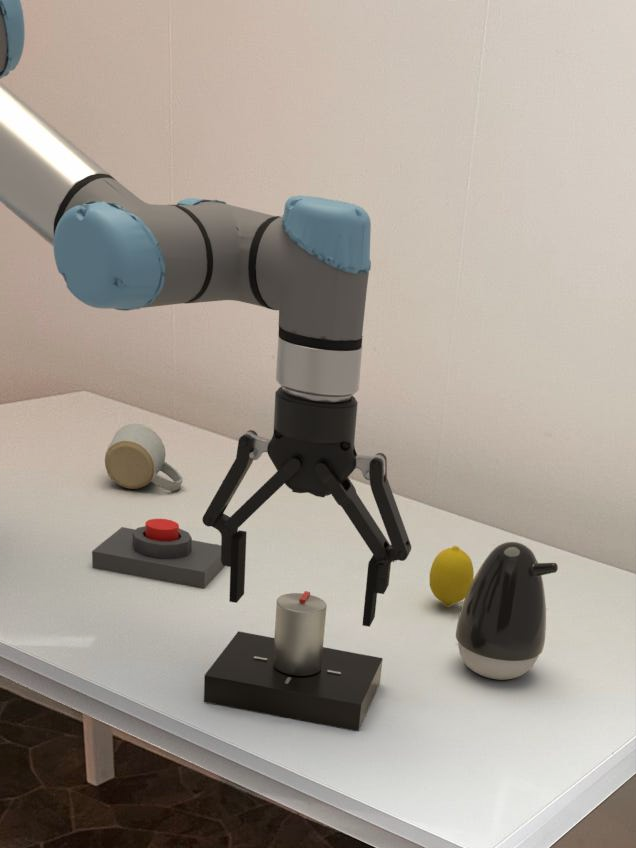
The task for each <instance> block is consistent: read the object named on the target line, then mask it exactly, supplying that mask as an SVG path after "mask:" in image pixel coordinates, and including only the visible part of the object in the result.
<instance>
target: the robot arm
mask: <svg viewBox="0 0 636 848" xmlns="http://www.w3.org/2000/svg"><path fill="white" fill-rule="evenodd" d="M24 17H25V16H24V11H23V6H22V2H21V0H0V80H1V79H3V78H4V77H7V76H8V75H10V72H11V71H14V70H15V69H17V66H18V65H19V63H20V61H21V58H22V55H23V53H24V52H23V51H24V46H25V37H26V33H25V32H26V31H25V18H24ZM0 203H1V204H2V205H4V206H5V207H6V208H7V209H8V210H9V211H11V212H12V213H13V214H14V215H15V216H17V217H18V218H19V219H20V220H21V221H23V222H24V223H25V224H26V225H27V226H29V228H30V229H31V230H33V231H34V232H35V233H36V234H37V235H39V236H40V237H41V238H42V239H43V240H45V242H47V243H48V244H49V245H50V246H51V247H53V256H54V261H55V265H56V268H57V271H58V273H59V274H60V275H61V276H62V277H63V279H64V282H65V283H66V288H67V289H68V290H69V293H71V294H72V295H73V296H74V297H75V298H76V299H77V300H78V301H79V302H80V303H83V304H85V305H86V306H88V307H91V308H96V309H104V310H105V309H106V310H107V309H108V310H109V309H110V310H111V309H114V310H117V311H134V310H140V309H144V308H145V309H146V308H153V307H162V306H171V305H172V306H173V305H181V304H197V303H208V302H219V301H221V302H222V301H234V302H235V301H236V302H239V303H240V302H241V303H245V304H249V305H253V306H254V305H255V306H258V307H262V308H265V309H269V310H272V311H278V333H277V334H278V335H277V336H278V339H277V352H276V353H277V355H276V368H275V369H276V372H275V381H276V382H277V383H278V384H279V386H280V387H278V388H277V390H276V391H275V393H274V414H273V434H272V437H271V439H269V438H267V437H263V436H260V435H258V433H257V431H255V430H253V429H249V430H247V431H246V432H244V433H243V434H242V435H241V436H240V437H239V438H238V443H237V450H236V455H235V459H234V461H233V463H232V465H231V466H230V468H229V470H228V471H227V473H226V474H225V477H224V479H223V480H222V483H221V484H220V485H219V488H218V489H217V491H216V493H215V495H214V496H213V498H212V500H211V502H210V503H209V505H208V507H207V508H206V511H205V513H204V514H203V516H202V519H201V520H202V523H203V525H205V526H206V527H212V528H214V529H216V530H217V531H218V532H219V533H220V536H221V541H220V542H221V543H220V544H221V562H222V565H223V566H224V567H229V569H230V570H229V597H228V598H229V602H230V603H236V604H237V603H238V602H239V601H240V599H241V598H242V597H243V596H244V594H245V585H246V583H245V582H246V557H247V555H246V554H247V531H245V530H239V528H240V527H241V526H242V525H243V524H244V523H245V522H246V521H247V520H248V519H249V518H250V517H252V515H254V513H255V512H257V510H259V509H260V507H262V506H263V505H264V504H265V503H266V502H267V501H268V500H269V499H270V498H271V497H272V496H273V495H274V494H276V492H277V491H278V490H280V489H281V488H282V487H283V486H284V485H285V486H286V487H287V488H288V489H290V490H291V492H292V493H296V494H306V493H308V494H311V495H313V496H315V497H318V498H325V497H328V496H332V498H333V499H334V501H335V502H336V504H337V505H338V506H340V507H341V508H342V509H343V511H344V513H345V514H346V516H347V517H348V518H349V520H350V522H351V523H352V525H353V526H354V528H355V529H356V531H357V532H358V534H359V535H360V537H361V539H362V540H363V541H364V543H365V545H366V546H367V548H368V549H369V550H370V552H371V554H372V556H371V558H370V560H369V561H368V564H367V573H366V583H365V594H364V606H363V613H362V615H363V616H362V626H364V627H371V625H372V623H373V621H374V620H375V617H376V608H377V600H378V599H377V598H378V594H381V595H384V594H385V593H386V591H387V590H388V587H389V585H390V577H391V566H392V562H396V561H401V562H403V561H405V560H407V559H408V556H409V555H410V553H411V551H412V544H411V541H410V538H409V536H408V533H407V530H406V527H405V524H404V522H403V519H402V516H401V513H400V510H399V507H398V504H397V502H396V499H395V496H394V494H393V490H392V487H391V485H390V482H389V479H388V460H387V456H386V455H385V454H384V453H382V452H378V453H375V454H374V455H366V454H365V455H363V454H358V453H357V451H356V447H355V439H356V427H357V426H356V425H357V415H358V403H359V402H358V401H357V400H356V397H355V396H354V395H355V394H356V393H358V392H359V390H360V381H361V380H360V379H361V367H362V354H363V353H362V352H363V337H364V336H363V331H364V322H365V310H366V301H367V292H368V290H367V289H368V283H369V275H370V271H371V269H372V268H371V267H372V261H371V231H372V230H371V229H372V226H371V225H372V223H371V218H370V215H369V213H368V212H367V210H365V209H364V208H363V207H361V206H360V205H357V204H355V203H351V202H347V201H342V200H337V199H335V200H333V199H329V198H324V197H318V196H309V195H292V196H290V197H288V198H287V200H286V202H285V203H284V209H283V214H282V216H279V215H272V214H269V213H264V212H261V211H257V210H252V209H248V208H244V207H240V206H236V205H232V204H228V203H227V202H225V201H223V200H218V199H205V198H195V197H187V198H184V199H181V200H180V201H178V202H177V204H154V203H153V204H152V203H151V204H150V203H147V202H145V201H143V200H142V199H140V198H139V197H138V196H137V195H135V194H134V193H133V192H131V191H130V189H128V188H127V187H125V186H124V185H123V184H122V183H120V182H119V181H118V180H117V179H115V178H114V177H113V176H112V175H111V174H110V173H109V172H107V171H106V169H104V168H103V167H102V166H100V165H99V164H98V163H97V162H96V161H95V160H93V159H92V158H91V156H89V155H88V154H87V153H85V151H83V150H82V149H81V148H80V147H78V146H77V145H76V144H75V143H73V141H71V140H70V139H69V138H68V137H66V136H65V135H64V134H63V133H61V131H59V129H57V128H56V127H55V126H53V125H52V124H51V123H50V122H49V121H48V120H47V119H45V118H44V117H43V116H42V115H41V114H39V113H38V112H37V111H36V110H35V109H33V108H32V106H31V105H29V104H28V103H27V102H26V101H24V100H23V99H22V98H20V96H18V95H17V94H16V93H15V92H13V91H12V90H11V89H10V88H9V87H8V86H6V85H5V84H4V82H2V81H0ZM264 453H267V456H268V457H269V459H270V461H271V462H272V464H273V466H274V467H275V470H276V472H275V473H274V474H273V475H272V476H271V477H269V479H268V480H267V481H266V482H264V484H263V485H262V486H260V487H259V489H258V490H256V492H255V493H253V494H252V495H251V496H250V497H249V498H248V499H247V500H246V501H245V502H244V503H243V504H242V505H241V506H240V507H239V508H238V509H237V510H236V511H235V512H234V513H233V514H232V515H231V516H229V515H227V514H225V511H226V510H227V508H228V506H229V505H230V503H231V501H232V499H233V497H234V496H235V494H236V492H237V491H238V488H239V487H240V485H241V483H242V481H243V480H244V478H245V476H246V475H247V472H248V471H249V469H250V468H251V466H252V465H253V462H254V461H258V460H259V459H260V458H261V457H262V456H263V454H264ZM355 469H358V470H359V471H361V473H362V476H363V479H365V480H366V481H369V485H370V489H371V493H372V496H373V498H374V500H375V501H374V502H375V504H376V507H377V509H378V512H379V514H380V518H381V520H382V523H383V526H384V530H385V532H386V535H387V537H388V539H389V541H388V539H387V538H386V536H385V535H384V533H383V532H382V529H381V528H380V527H379V525H378V524H377V522H376V521H375V520H374V518H373V516H372V515H371V513H370V512H369V510H368V509H367V506H366V505H365V504H364V502H363V501H362V499H361V498H360V496H359V494H358V493H357V490H356V488H355V485H354V484H353V482H352V481H351V479H350V478H349V477H350V476H351V474H353V472H354V471H355Z"/></svg>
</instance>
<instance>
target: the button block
mask: <svg viewBox="0 0 636 848" xmlns="http://www.w3.org/2000/svg"><path fill="white" fill-rule="evenodd" d="M91 562H92V563H91V564H92V565H91V566H92V569H95V570H102V571H106V572H107V571H108V572H112V573H116V574H117V573H118V574H123V575H129V576H133V577H139V578H144V579H150V580H155V581H161V582H167V583H171V584H175V585H182V586H187V587H193V588H198V589H206V588H207V586H209V584H210V583H211V582H212V581H213V580H214V579H215V577H216V576H218V574H220V572H221V571H222V570H223V569H224V568H225V566H223V565H222V562H221V545H220V544H215V543H210V542H204V541H200V540H194V539H192V535H191V534H190V532H188V531H187V530H184V529H182V528H180V527H179V539H178V540H174V541H156V540H151V539H149V538H146V537H145V525H144V526H140V527H139V526H138V527H137V528H134V529H133V528H129V527H123V526H122V527H120V528H119V529H118V530H117V531H115V532H114V533H112V535H110V536H109V537H108V538H106V539H105V540H104V541H102V542H101V543H100V544H98V546H97V547H95V548H94V549H93V550H92V551H91Z"/></svg>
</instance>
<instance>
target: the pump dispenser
mask: <svg viewBox="0 0 636 848" xmlns="http://www.w3.org/2000/svg"><path fill="white" fill-rule="evenodd" d="M558 568H559V566H558V564H557V562H538V559H537V557H536V555H535V554H534V552H533V550H531V548H529V547H528V546H527V545H525V544H524V543H520V542H518V541H507V542H502V543H501V544H499V545H497V546H496V547H494V549H492V550H491V552H490V553H489V554H488V555H487V557H485V559H484V561H483V562H482V564H481V565H480V567H479V568H478V570H477V572H476V574H475V575H474V577H473V581H472V583H471V586H470V588H469V590H468V592H467V595H466V597H465V599H463V603H462V607H461V609H460V612H459V616H458V620H457V623H456V630H455V639H456V641H457V645H458V651H459V655H460V657H461V659H462V661H463V663H464V664H465V665H466V666H467V667H468V668H469V669H470V670H471V671H472V672H474V673H476V674H477V675H479V676H481V677H484V678H487V679H491V680H497V681H498V680H499V681H505V680H511V679H512V680H513V679H516V678H519V677H522V676H524V674H526V673H527V672H529V671H530V670H531V669H532V668H533V667H534V665H535V663H536V661H537V660H538V658H539V656H540V655H541V654H542V653H543V652H544V647H545V642H546V634H547V633H546V630H547V602H546V594H545V586H544V582H543V581H544V580H543V576H545V575H550V574H555V573H557V572H558V570H559V569H558Z"/></svg>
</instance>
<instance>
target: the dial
mask: <svg viewBox="0 0 636 848" xmlns="http://www.w3.org/2000/svg"><path fill="white" fill-rule="evenodd" d="M327 606H328V605H327V603H326V601H325V600H324V599H322V598H320V597H318V596H315V595H313V594H311V591H307V590H305V591H304V592H303V593H297V592H293V593H292V592H291V593H285V594H282V595H280V596H278V598H277V599H276V605H275V622H274V623H275V624H274V637H273V638H274V654H273V665H274V667H275V668H276V669H277V670H278V671H280V672H282V673H285V674H289V675H294V676H309V675H313V674H316V673H318V672H319V671H320V670H321V666H322V654H323V647H324V641H325V629H326V617H327Z"/></svg>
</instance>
